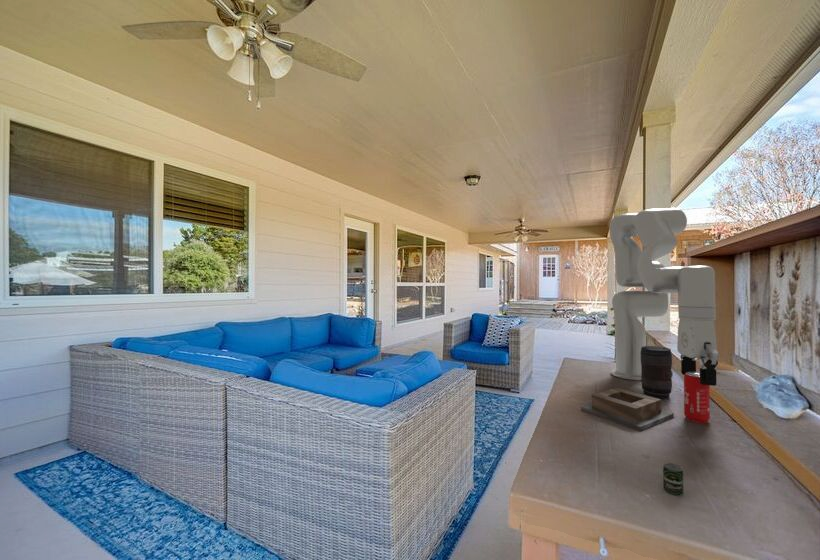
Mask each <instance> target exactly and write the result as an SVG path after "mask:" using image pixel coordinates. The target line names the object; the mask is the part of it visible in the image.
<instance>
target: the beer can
mask: <svg viewBox="0 0 820 560" xmlns="http://www.w3.org/2000/svg"><path fill="white" fill-rule="evenodd" d="M662 473H663V474H662V479H663V480H662V482H663V483H662V485H663V490H665V492H667V493H668V494H670V495H674V496H682V495H683V494H684V472H683V468H682V467H681V466H680V465H678V464H675V463H671V462H667V463H663V467H662Z"/></svg>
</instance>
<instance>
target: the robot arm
mask: <svg viewBox="0 0 820 560" xmlns="http://www.w3.org/2000/svg"><path fill="white" fill-rule="evenodd" d="M687 225H688V219H687V215H686V214H685V212H684V211H683V210H682V209H680V208H676V207H670V208H668V207H666V208H648V209H644V210H641V211H639V212H632V213H631V212H629V213H622V214H618V215H615V216H614V217H613V218H612V219H611V220H610V223H609V229H608V230H609V237H610V241H611V243H612V246H613V250H614V261H615V279H616V283H617V284H618V285H619V286H620V287H624V288H645V290H622V291H619V292H616V293H615V294H614V295H613V297H612V300H611V302H612V303H611V304H612V305H611V306H612V310H613V314H614V322H615V323H614V325H615V326H614V327H615V328H614V329H615V332H614V333H615V368H613V369H611V370H610V373H611V375H612V376H614V377H617V378H620V379H625V380H630V381H631V380H632V381H641V353H640V352H641V347H643V346H647V344H646V341H647V340H646V328H645V326H644V325H643V323H642V322H641V321H640V319H639V318H641V317H643V318H644V317H645V318H647V317H649V318H650V317H651V318H652V317H653V318H657V317H663V316H665V315H666V314H667V313H668V310H669V294H677V301H678V302H677V303H678V305H677V309H678V319H679V321H678V327H677V342H676V343H677V345H676V346H677V347H676V348H677V352H678V353H679V354H680V359H681V360H680V362H681V363H680V365H681V367H680V368H681V370H680V371H681V374H682V375H683V376H684V375H685V372H697V361H696V360H697V359H698V362H699V364H700V367H699V373H700V384H702V385H710V386H713V387H714V386H717V384H718V383H717V369H718V364H719V361H718V360H719V357H720V355H719V354H720V353H719V352H718V349H717V347H718V346H717V336H716V335H717V334H716V333H717V332H716V328H715V321H716V320H717V314H716V313H717V310H716V309H717V307H716V273H715V269H714V268H713V267H712V266H709V265H690V266H688V265H687V266H686V265H685V266H684V265H683V266H681V265H680V266H679V265H678V266H676V265H675V266H670V265H669V266H665V265H664V264H663V263H661V262H659V261H655V260H658V259H659V258H662V257H665V256H667V255H668V254H670V253H672V252H673V251H674V250H675V249H676V247H677V245H678V240H677V237H676V235H679V234H682V232H684V230H685V229H686V228H687ZM633 237H634V238H635V237H638V238H639V240H640V243H641V244H642V246H643V249H642V247H641V245H639V243H638V242H637V240H635V239H634V238H633Z"/></svg>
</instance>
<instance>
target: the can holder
mask: <svg viewBox="0 0 820 560" xmlns="http://www.w3.org/2000/svg"><path fill="white" fill-rule="evenodd" d="M580 411H582V412H585V413H588V414H590V415H595V416H597V417H599V418H603V419H604V420H605V419H606V420H608V421H611V422H613V423H617V424H620V425H622V426H625V427H629V428H631V429H634V430H637V431H639V432H642V431H644V430H646V429H649V428H651V427H654V426H657V425H658V424H660V423H663V422H665V421H668V420H669V419H672V418H674V415H675V414H674V413H673V412H670V411H666V410H663V409H662V399H657V398H654V397H650V396H646V395H644V393H643V394H642V393H639V392H634V391H630V390H627V389H623V388H619V387H614V388H610V389H607V390H603V391H601V392H597V393H593V394H591V402H590V403H588V404H584V405H581V406H580Z"/></svg>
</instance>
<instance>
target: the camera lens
mask: <svg viewBox="0 0 820 560" xmlns="http://www.w3.org/2000/svg"><path fill="white" fill-rule="evenodd" d="M640 353H641V380H640V383H641V389H642V391H643V395H646V396H650V397H654V398H657V399H661V400H668V399H670V394H671V393H672V388H673V382H672V381H673V379H672V378H673V377H674V376H673V375H674V374H673V371H672V367H673V354H672V350H671V348H668V347H664V346H656V345H646V346H643V347H641V352H640Z"/></svg>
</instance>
